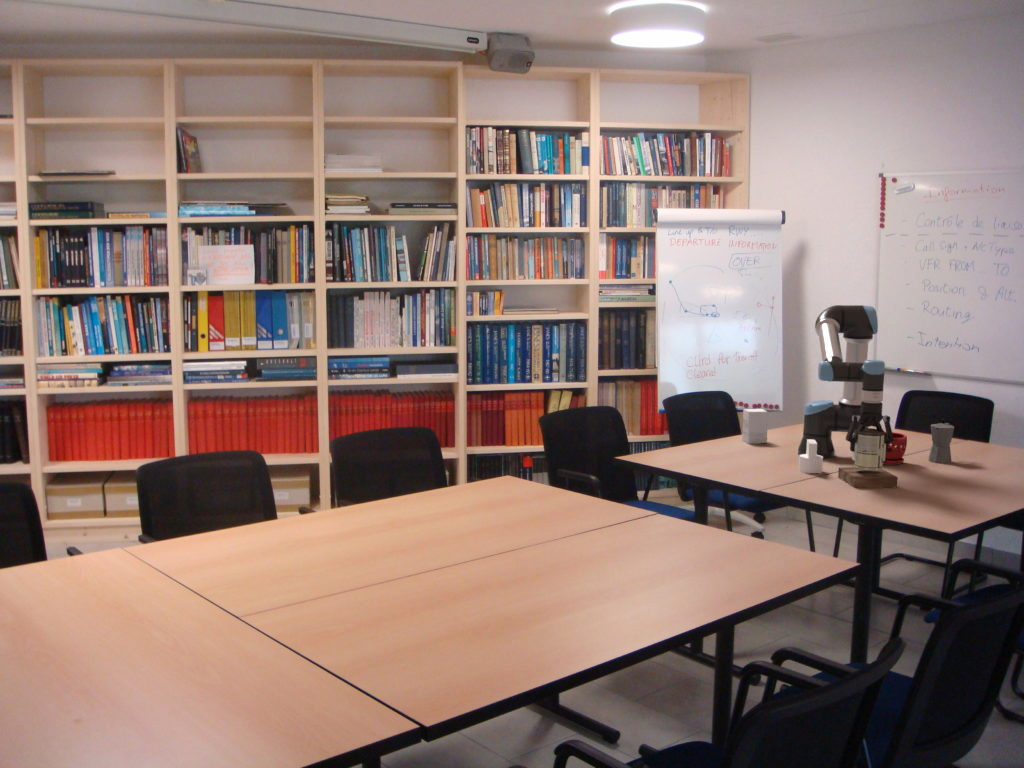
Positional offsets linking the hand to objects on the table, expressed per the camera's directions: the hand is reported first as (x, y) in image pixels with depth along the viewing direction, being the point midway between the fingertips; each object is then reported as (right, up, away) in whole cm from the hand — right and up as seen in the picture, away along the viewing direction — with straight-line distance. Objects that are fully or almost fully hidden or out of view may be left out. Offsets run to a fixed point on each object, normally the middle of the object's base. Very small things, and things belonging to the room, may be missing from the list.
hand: (868, 460), depth 352 cm
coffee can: (0, -3, 0) cm, 3 cm away
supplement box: (-23, +2, +78) cm, 81 cm away
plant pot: (+22, -4, +36) cm, 43 cm away
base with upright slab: (-15, -6, +20) cm, 26 cm away
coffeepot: (+46, -4, +41) cm, 62 cm away
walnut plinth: (0, -9, +1) cm, 9 cm away
